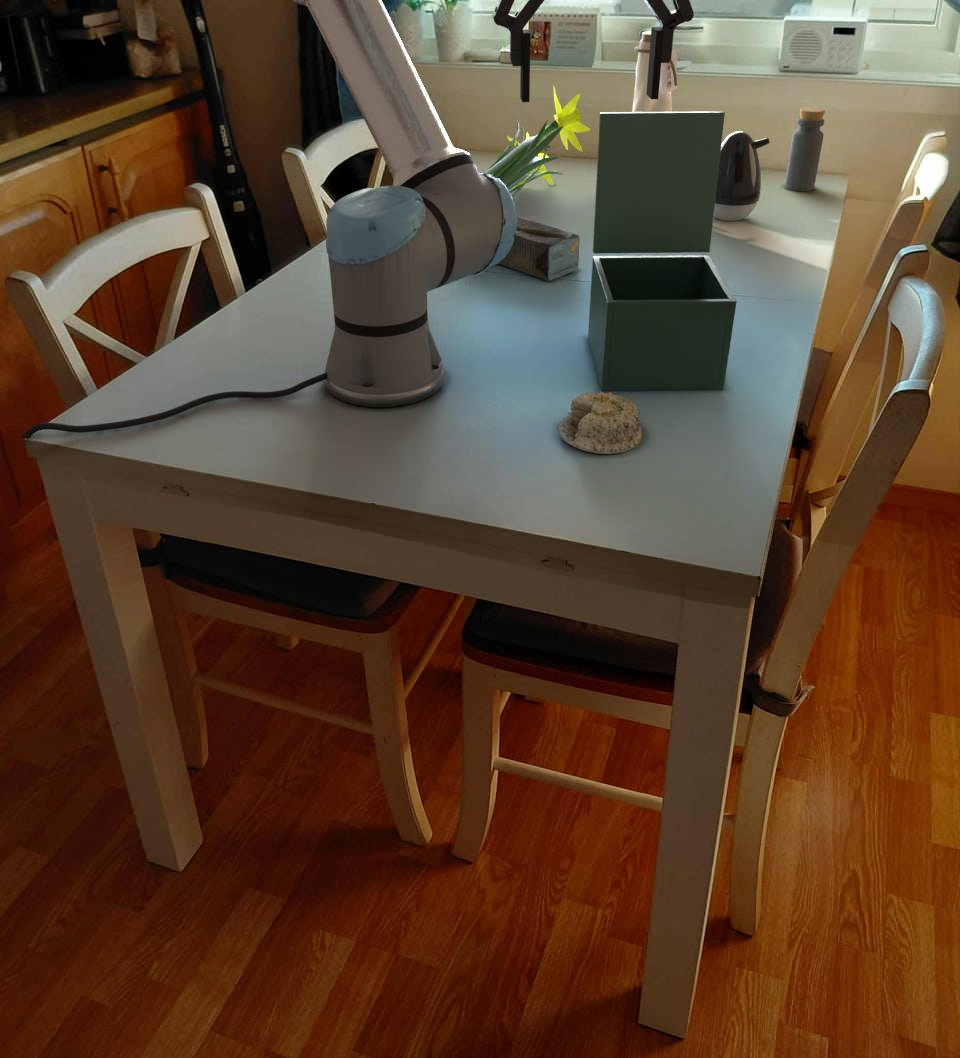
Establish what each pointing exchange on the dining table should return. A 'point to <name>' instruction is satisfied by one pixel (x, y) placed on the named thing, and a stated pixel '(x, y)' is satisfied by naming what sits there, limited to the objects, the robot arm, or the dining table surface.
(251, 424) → the dining table surface
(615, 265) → the bin
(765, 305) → the dining table surface
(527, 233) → the beverage carton
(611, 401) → the cake
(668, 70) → the water bottle
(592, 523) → the dining table surface
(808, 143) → the bottle
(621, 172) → the bin lid
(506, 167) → the daffodil flowers
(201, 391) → the dining table surface
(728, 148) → the pump dispenser
